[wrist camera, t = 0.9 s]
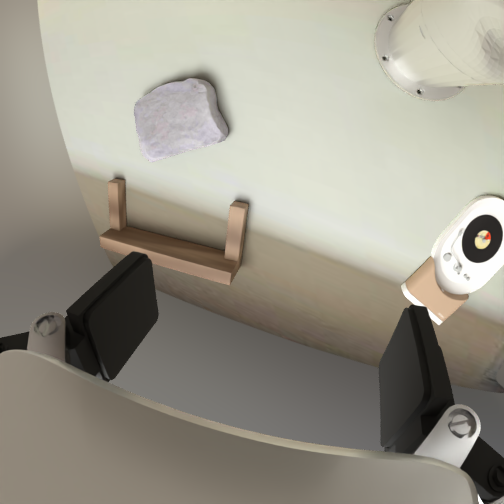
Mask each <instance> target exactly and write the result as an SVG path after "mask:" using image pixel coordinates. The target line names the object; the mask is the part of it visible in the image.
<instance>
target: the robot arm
mask: <svg viewBox="0 0 504 504" xmlns="http://www.w3.org/2000/svg"><path fill="white" fill-rule="evenodd" d="M388 18H390V19H391V20H392V21H389V20H388ZM374 43H375V51H376V55H377V58H378V60H379V63H380V65H381V67H382V69H383V70H384V72H385V73H386V75H387V76H388V77H389V78H390V79H391V80H392V82H393V83H394V84H395V85H397V86H398V87H399V88H400V89H402V90H403V91H405V92H406V93H408V94H410V95H412V96H414V97H417V98H419V99H424V100H428V101H441V100H446V99H450V98H452V97H454V96H456V95H458V94H459V93H460V92H461V91H462V90H463V89H464V88H465V86H471V85H496V84H504V0H413V1H412V2H411V4H405V5H400V6H397V7H395V8H393V9H391V10H390V11H388V12H387V13H386V14H385V15H384V16H383V17H382V18H381V20H380V22H379V23H378V26H377V28H376V31H375V38H374ZM383 57H385V58H386V61H384V60H383ZM457 86H458V87H457ZM417 90H420V94H418V93H417ZM66 312H67V315H68V316H67V317H66V318H64V317H63V315H61V314H59V313H55V312H49V313H45V314H42V315H40V316H39V317H37V318H36V319H35V320H34V321H33V323H32V324H31V327H30V332H26V333H21V334H16V335H12V336H7V337H2V338H0V504H504V458H503V457H502V456H501V455H500V454H498V453H497V452H496V451H495V450H494V449H493V448H492V447H490V446H489V445H488V444H487V443H486V442H485V441H483V440H482V439H481V438H480V437H479V436H478V435H479V432H480V421H479V418H478V416H477V414H476V413H475V412H474V411H473V410H472V409H471V408H469V407H467V406H465V405H461V404H459V405H455V404H454V399H453V394H452V389H451V385H450V380H449V376H448V372H447V368H446V364H445V361H444V357H443V353H442V350H441V348H440V346H439V345H438V342H437V338H436V335H435V331H434V328H433V325H432V322H431V319H430V315H429V312H428V309H427V307H424V306H418V305H410V307H409V308H405V309H404V311H403V313H402V315H401V318H400V320H399V322H398V324H397V327H396V329H395V331H394V333H393V335H392V338H391V340H390V342H389V344H388V346H387V348H386V350H385V352H384V354H383V356H382V358H381V361H380V364H379V383H380V413H381V414H380V415H381V446H382V447H385V452H384V451H370V450H360V449H351V448H342V447H334V446H327V445H320V444H313V443H307V442H301V441H295V440H289V439H284V438H279V437H274V436H269V435H265V434H261V433H256V432H252V431H248V430H243V429H239V428H236V427H232V426H228V425H225V424H221V423H217V422H214V421H211V420H207V419H204V418H201V417H197V416H194V415H191V414H188V413H185V412H182V411H179V410H176V409H173V408H170V407H168V406H165V405H162V404H159V403H157V402H154V401H151V400H149V399H146V398H144V397H141V396H138V395H136V394H134V393H131V392H129V391H126V390H124V389H122V388H119V387H117V386H115V385H113V384H110V383H108V382H109V381H110V380H113V379H114V378H115V377H116V376H117V374H118V373H119V372H120V370H121V369H122V367H123V366H124V365H125V363H126V362H127V361H128V359H129V358H130V357H131V355H132V354H133V352H134V351H135V349H136V348H137V347H138V346H139V344H140V343H141V342H142V340H143V339H144V338H145V336H146V335H147V333H148V332H149V331H150V329H151V328H152V327H153V325H154V324H155V323H156V321H157V319H158V307H157V300H156V292H155V285H154V277H153V269H152V261H151V259H150V258H148V255H147V254H145V253H140V252H135V251H132V252H131V253H129V254H128V255H127V256H126V257H125V258H124V259H122V260H121V261H120V262H119V263H118V264H117V265H116V266H114V267H113V268H112V269H111V270H110V271H109V272H108V273H107V274H105V275H104V276H103V277H102V278H101V279H100V280H99V281H98V282H96V283H95V284H94V285H93V286H92V287H91V288H90V289H89V290H88V291H87V292H85V294H83V295H82V296H81V297H80V298H79V299H78V300H77V301H76V302H75V303H74V304H73V305H72V306H71V307H69V308H68V309H67V310H66Z"/></svg>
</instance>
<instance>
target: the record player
mask: <svg viewBox="0 0 504 504" xmlns="http://www.w3.org/2000/svg"><path fill="white" fill-rule="evenodd" d="M503 264H504V200H502V199H501V198H499V197H496V196H492V195H485V196H480V197H478V198H475V199H473V200H472V201H470V202H469V203H468V204H467V205H466V206H465V207H464V208H463V209H462V210H461V211H460V213H459V214H458V215H457V216H456V217H455V218H454V219H453V220H452V222H451V223H450V224H449V225H448V226H447V227H446V228H445V230H444V231H443V232H442V233H441V234H440V236H439V237H438V238H437V240H436V242H435V244H434V246H433V249H432V252H431V257H429V258H428V259H427V260H426V261H425V262H424V263H423V265H422V266H421V267H420V268H419V269H418V270H417V271H416V272H415V273H414V274H413V275H412V276H411V277H409V278H408V279H407V280H406V282H404V283H403V284H402V285H401V288H402V291H403V293H404V295H405V296H406V298H408V299H409V300H410V301H411V302H412V303H414V304H415V305H418V306H424V307H427V309H428V312H429V315H430V318H431V319H432V320H434V321H435V322H436V323H437V324H438V325H440V324H441V323H442V322H443V321H444V320H446V319H447V318H448V317H449V316H450V315H451V314H452V313H453V312H455V311H456V310H457V309H458V308H459V307H460V306H461V305H462V304H463V303H464V302H465V301H466V300H467V299H468V297H469V296H468V293H471V292H474V291H476V290H477V289H479V288H481V287H482V286H483V285H484V284H485V283H486V282H487V281H488V280H489V279H490V278H491V277H492V276H493V275H494V274H495V273H496V272H497V271H498V270H499V269H500V268H501V267H502V265H503Z"/></svg>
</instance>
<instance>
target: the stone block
mask: <svg viewBox="0 0 504 504" xmlns="http://www.w3.org/2000/svg"><path fill="white" fill-rule="evenodd" d="M134 116H135V123H136V131H137V133H138V137H139V145H140V150H141V152H142V154H143V156H144V157H145V158H146V159H148V161H150V162H154V161H157V160H161V159H164V158H167V157H171V156H174V155H177V154H180V153H183V152H186V151H190V150H194V149H197V148H201V147H206V146H209V145H212V144H216V143H219V142H222V141H224V140H225V138H226V137H227V135H228V127H227V125H226V123H225V120H224V119H223V117H222V115H221V113H220V112H219V110H218V107H217V97H216V93H215V89H214V88H213V87H212V86H211V85H210V83H209V82H207V81H205V80H201V79H195V78H189V79H187V80H185V81H176V82H171V83H167V84H165V85H161V86H159V87H157V88H155V89H154V90H153V91H152V92H150V93H147V94H146V95H145V96H144V97H142V98H140V99H139V100H138V101H137V102H136V104H135V107H134Z"/></svg>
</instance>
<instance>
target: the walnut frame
mask: <svg viewBox="0 0 504 504" xmlns="http://www.w3.org/2000/svg"><path fill="white" fill-rule="evenodd" d="M108 197H109V214H110V228H111V229H109V230H108V231H106V232H105V233H103V234H102V235H101V236H100V245H101V247H102V248H105V249H108V250H111V251H114V252H117V253H121V254H124V255H128V254H129V253H131V252H132V251H135V252H140V253H145V254H147V255H148V258H150V259H151V261H152V263H153V264H157V265H160V266H163V267H167V268H170V269H174V270H177V271H181V272H184V273H188V274H191V275H195V276H198V277H202V278H205V279H209V280H212V281H216V282H220V283H223V284H227V285H230V284H231V282H232V280H233V279H234V277H235V275H236V273H237V272H238V270H239V268H240V264H241V257H242V250H243V243H244V235H245V228H246V221H247V214H248V207H249V204H246V203H242V202H237V201H234V202H233V203H232V204H231V205H230V210H229V219H228V228H227V237H226V246H225V251H222V250H218V249H214V248H211V247H207V246H203V245H199V244H195V243H191V242H187V241H183V240H179V239H175V238H171V237H167V236H163V235H159V234H156V233H152V232H148V231H144V230H140V229H136V228H132V227H128V226H127V221H126V194H125V180H122V179H116V178H115V179H113V180H111V181H109V182H108Z"/></svg>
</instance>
